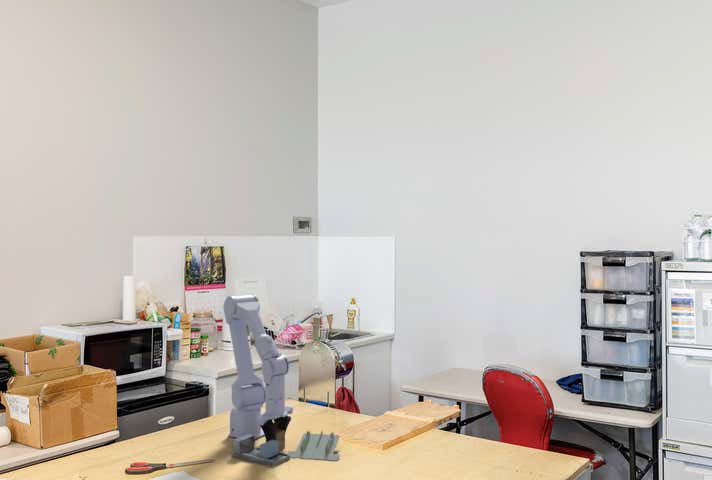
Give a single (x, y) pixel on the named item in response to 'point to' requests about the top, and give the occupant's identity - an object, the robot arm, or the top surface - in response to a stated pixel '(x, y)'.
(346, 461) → the top surface
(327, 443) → the metal bracket
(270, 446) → the block
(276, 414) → the robot arm
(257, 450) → the vise
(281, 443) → the block
